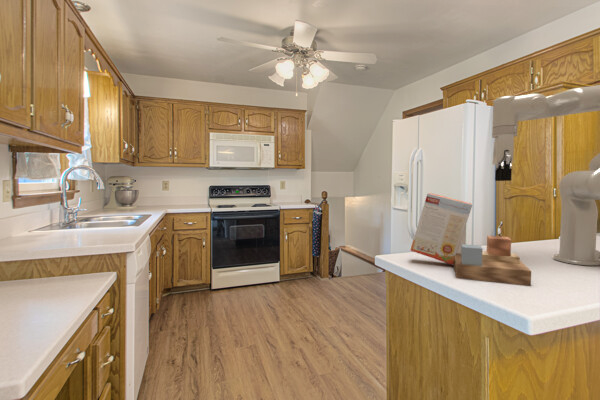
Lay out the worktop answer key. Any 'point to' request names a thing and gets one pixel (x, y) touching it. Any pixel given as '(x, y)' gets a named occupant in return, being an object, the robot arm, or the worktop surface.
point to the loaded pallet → (501, 258)
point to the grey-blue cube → (471, 254)
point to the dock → (493, 271)
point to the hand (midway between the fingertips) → (502, 180)
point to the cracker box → (441, 227)
